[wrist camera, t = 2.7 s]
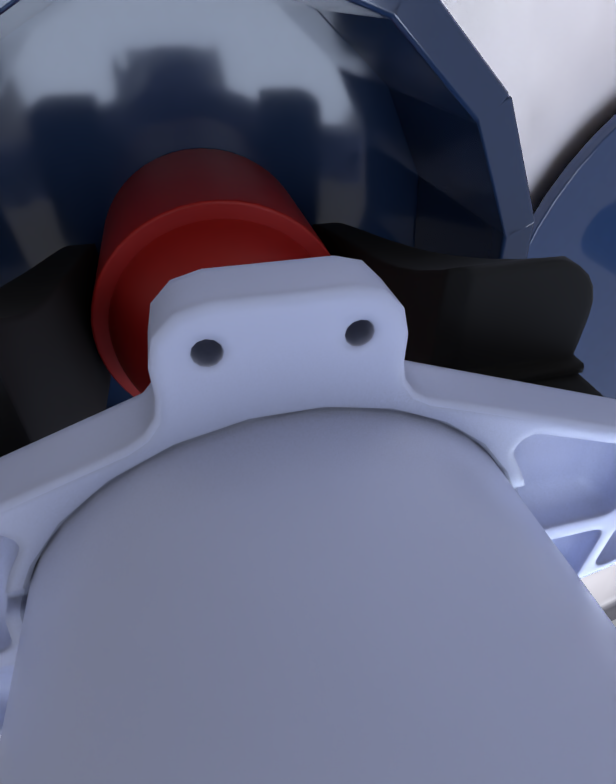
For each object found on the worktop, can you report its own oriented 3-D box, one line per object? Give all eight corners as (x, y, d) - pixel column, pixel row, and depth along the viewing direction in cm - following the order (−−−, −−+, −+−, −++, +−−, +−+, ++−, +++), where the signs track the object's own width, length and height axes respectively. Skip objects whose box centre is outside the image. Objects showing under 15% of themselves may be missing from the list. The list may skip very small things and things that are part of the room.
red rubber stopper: (233, 365, 16) (272, 537, 11) (65, 279, 13) (16, 459, 8) (341, 230, 14) (449, 363, 9) (173, 95, 12) (196, 183, 6)
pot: (256, 470, 20) (282, 581, 17) (-158, 311, 13) (-283, 445, 9) (514, 192, 16) (632, 258, 12) (88, -304, 8) (42, -548, 4)
